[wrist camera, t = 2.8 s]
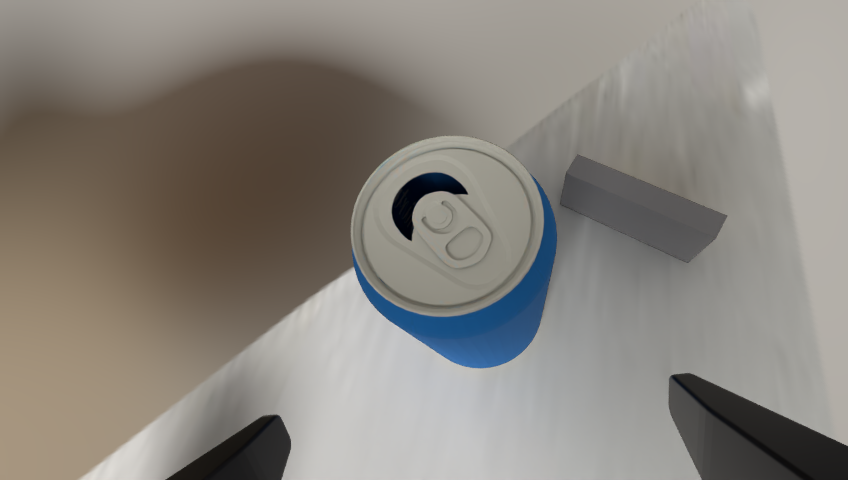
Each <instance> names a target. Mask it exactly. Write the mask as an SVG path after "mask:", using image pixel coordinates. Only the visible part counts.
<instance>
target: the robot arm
mask: <svg viewBox="0 0 848 480" xmlns="http://www.w3.org/2000/svg"><path fill="white" fill-rule="evenodd" d="M669 409H670V413H671V416H672V418H673V420H674V423H675V425H676V427H677V429H678V431H679V433H680V435H681V437H682V439H683V441H684V443H685V446H686V448H687V450H688V452H689V454H690V456H691V458H692V460H693V462H694V464H695V467H696V469H697V471H698V473H699V475H700V477H701V478H702V480H848V446H846V445H844V444H842V443H840V442H838V441H836V440H833V439H831V438H829V437H827V436H825V435H823V434H820V433H818V432H816V431H814V430H812V429H810V428H808V427H805V426H803V425H801V424H799V423H797V422H795V421H792V420H790V419H788V418H786V417H784V416H782V415H780V414H777V413H775V412H773V411H771V410H769V409H767V408H764V407H762V406H760V405H758V404H756V403H754V402H752V401H749V400H747V399H745V398H743V397H741V396H739V395H736V394H734V393H732V392H730V391H728V390H726V389H723V388H721V387H719V386H717V385H715V384H713V383H711V382H708V381H706V380H704V379H702V378H700V377H698V376H695V375H693V374H690V373H684V374H674V375H671V376H670V378H669ZM290 449H291V439H290V436H289V434H288V432H287V430H286V427H285V425H284V423H283V421H282V419H281V417H280V416H279V415H266V416H262V417H260V418H259V419H257V420H256V421H254V422H253V423H251V424H250V425H248V426H247V427H245V428H244V429H242V430H241V431H239V432H238V433H236V434H235V435H233V436H231V437H230V438H228V439H227V440H225V441H224V442H222V443H221V444H219V445H218V446H216V447H215V448H213V449H212V450H210V451H209V452H207V453H206V454H204V455H202V456H201V457H199V458H198V459H196V460H195V461H193V462H192V463H190V464H189V465H187V466H186V467H184V468H183V469H181V470H180V471H178V472H177V473H175V474H174V475H172V476H170V477H169V478H167V479H166V480H281V479H282V476H283V473H284V469H285V466H286V463H287V460H288V456H289V453H290Z"/></svg>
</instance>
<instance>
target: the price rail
mask: <svg viewBox="0 0 848 480" xmlns="http://www.w3.org/2000/svg"><path fill="white" fill-rule="evenodd" d="M560 204H561V205H564V206H566V207H568V208H570V209H572V210H574V211H577V212H579V213H581V214H583V215H585V216H587V217H590V218H592V219H594V220H596V221H598V222H600V223H602V224H605V225H607V226H609V227H611V228H613V229H615V230H618V231H620V232H622V233H624V234H626V235H628V236H631V237H633V238H635V239H637V240H639V241H641V242H644V243H646V244H648V245H650V246H652V247H654V248H657V249H659V250H661V251H663V252H665V253H667V254H670V255H672V256H674V257H676V258H678V259H680V260H683V261H685V262H687V263H688V262H689V261H690V260H691V259H693V258H694V257H695V256H696V255H697V254H698V253H699V252H701V251H702V250H703V249H704V248H705V247H706V246H708V245H709V244H710V243H711V242H712V241H713V240H714V239H716V237H717V235H718V233H719V231H720V229H721V227H722V225H723V223H724V221H725V219H726V218H727V216H726V215H724V214H722V213H719V212H717V211H714V210H712V209H709V208H707V207H705V206H702V205H700V204H697V203H695V202H692V201H690V200H688V199H685V198H683V197H680V196H678V195H675V194H673V193H670V192H668V191H666V190H663V189H661V188H658V187H656V186H653V185H651V184H649V183H646V182H644V181H641V180H639V179H636V178H634V177H632V176H629V175H627V174H624V173H622V172H619V171H617V170H615V169H612V168H610V167H607V166H605V165H602V164H600V163H597V162H595V161H593V160H590V159H588V158H585V157H583V156H580V155H578V154H577V156H576V158H575V159H574V161H573V163H572V164H571V166H570V167H569V169H568V171H567V172H566V175H565V181H564V186H563V191H562V196H561V202H560Z"/></svg>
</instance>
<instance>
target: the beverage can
mask: <svg viewBox="0 0 848 480" xmlns="http://www.w3.org/2000/svg"><path fill="white" fill-rule="evenodd" d="M351 241H352V256H353V262H354V268H355V271H356V275H357V278H358V281H359V283H360V285H361V287H362V289H363V291H364V293H365V294H366V296H367V298H368V299H369V301H370V302H371V303H372V304H373V306H374V307H375V308H376V309H377V310H378V311H379V312H380V313H381V314H382V315H383V316H384V317H386V318H387V319H388V320H389V321H391V322H392V323H394V324H395V325H397V326H398V327H400V328H401V329H403V330H404V331H406V332H407V333H409V334H410V335H412V336H413V337H415V338H416V339H418V340H419V341H421V342H422V343H424V344H426V345H427V346H429V347H430V348H432V349H433V350H435V351H436V352H438V353H439V354H441V355H442V356H444V357H445V358H447V359H448V360H450V361H452V362H454V363H456V364H459V365H462V366H466V367H471V368H489V367H494V366H498V365H501V364H504V363H506V362H508V361H510V360H512V359H513V358H515V357H516V356H518V355H519V354H520V353H522V352H523V351H524V350H525V349H526V348H527V346H528V345H529V344H530V342H531V341H532V340H533V338H534V336H535V334H536V333H537V330H538V327H539V325H540V321H541V316H542V312H543V307H544V303H545V298H546V294H547V289H548V285H549V281H550V276H551V272H552V267H553V263H554V258H555V254H556V245H557V231H556V222H555V218H554V213H553V210H552V208H551V205H550V202H549V200H548V198H547V196H546V194H545V193H544V191H543V189H542V187H541V186H540V185H539V183H538V182H537V181H536V179H535V178H534V177H533V176H532V175H531V174H530V173H529V172H528V171H527V169H526V168H525V167H524V166H523V165H522V164H521V163H520V162H519V161H518V160H517V159H516V158H515V157H514V156H513V155H511V154H510V153H509V152H507V151H506V150H504V149H502V148H500V147H499V146H497V145H495V144H493V143H490V142H488V141H485V140H481V139H478V138H474V137H467V136H453V135H451V136H439V137H434V138H428V139H425V140H422V141H418V142H416V143H413V144H411V145H409V146H407V147H405V148H403V149H401V150H399V151H398V152H396V153H395V154H393V155H392V156H390V157H389V158H388V159H386V160H385V161H384V162H383V163H382V164H381V165H380V166H379V167H378V168H377V169H376V170H375V171H374V172H373V173H372V175H371V176H370V177H369V179H368V180H367V181H366V183H365V184H364V186H363V188H362V190H361V192H360V194H359V196H358V198H357V201H356V204H355V207H354V210H353V215H352V222H351Z"/></svg>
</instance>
